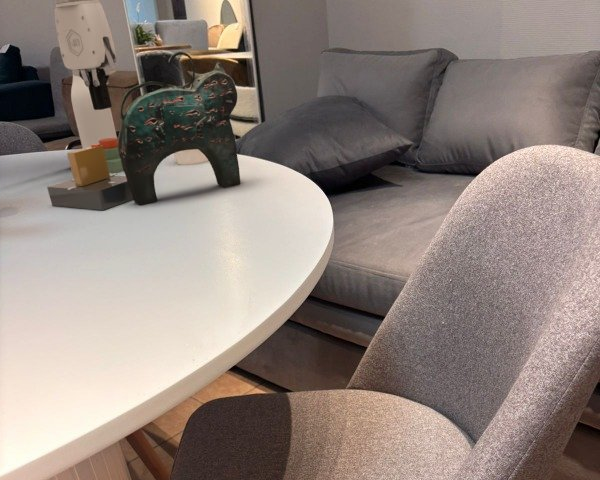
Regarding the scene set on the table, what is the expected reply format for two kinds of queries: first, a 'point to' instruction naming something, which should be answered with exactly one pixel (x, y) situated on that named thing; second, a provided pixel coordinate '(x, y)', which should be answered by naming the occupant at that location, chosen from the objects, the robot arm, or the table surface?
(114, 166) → the dispenser
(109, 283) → the table surface
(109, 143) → the dispenser button
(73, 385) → the table surface
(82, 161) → the yellow rectangular block
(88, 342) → the table surface
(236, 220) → the table surface
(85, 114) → the milk bottle
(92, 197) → the base
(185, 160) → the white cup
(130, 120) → the ceramic cat
